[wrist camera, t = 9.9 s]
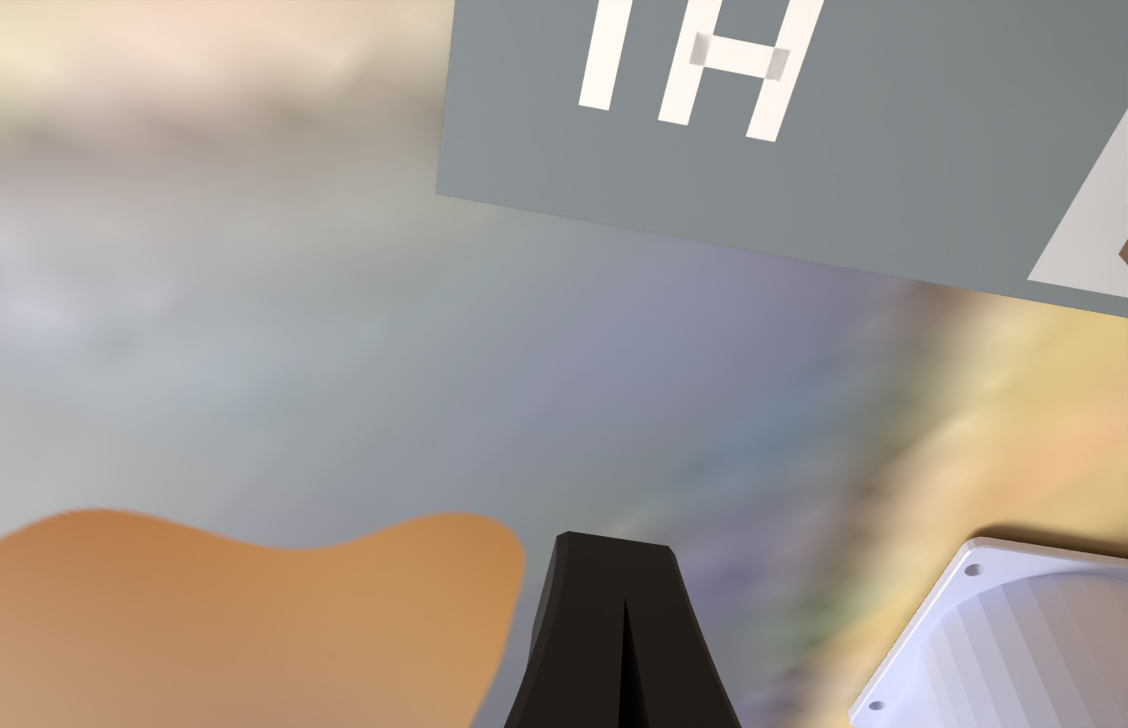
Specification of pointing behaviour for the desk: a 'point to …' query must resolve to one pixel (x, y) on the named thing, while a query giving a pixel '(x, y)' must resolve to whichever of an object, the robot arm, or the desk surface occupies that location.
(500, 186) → the board
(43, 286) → the desk surface
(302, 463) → the desk surface
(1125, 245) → the walnut block
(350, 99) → the desk surface
